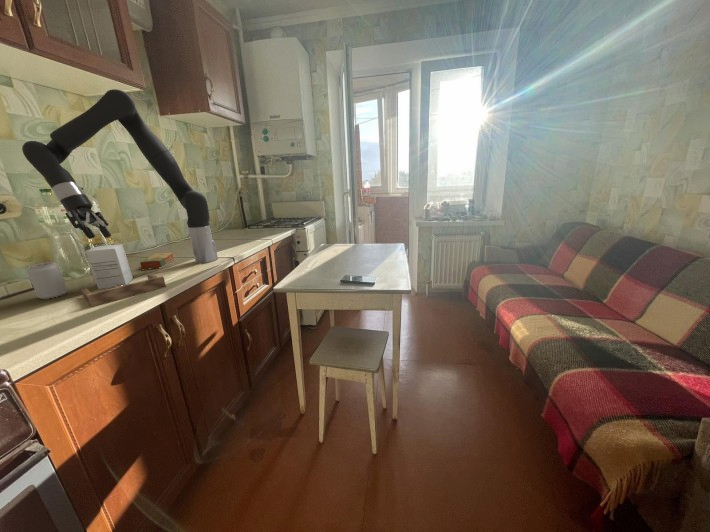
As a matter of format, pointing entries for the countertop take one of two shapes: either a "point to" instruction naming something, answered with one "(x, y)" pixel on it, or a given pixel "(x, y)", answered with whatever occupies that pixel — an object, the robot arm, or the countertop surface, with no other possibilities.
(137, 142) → the robot arm
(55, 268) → the can
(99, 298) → the wooden tray
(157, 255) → the carton
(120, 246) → the supplement box
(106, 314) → the countertop surface
